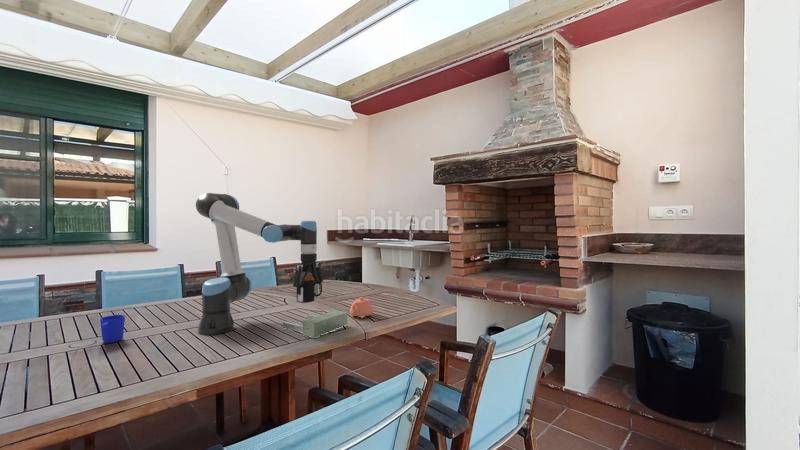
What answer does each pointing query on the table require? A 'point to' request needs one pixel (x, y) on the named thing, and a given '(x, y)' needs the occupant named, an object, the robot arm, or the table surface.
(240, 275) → the robot arm
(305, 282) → the mug
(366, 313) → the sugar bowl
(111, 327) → the mug
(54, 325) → the table surface
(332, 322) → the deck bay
